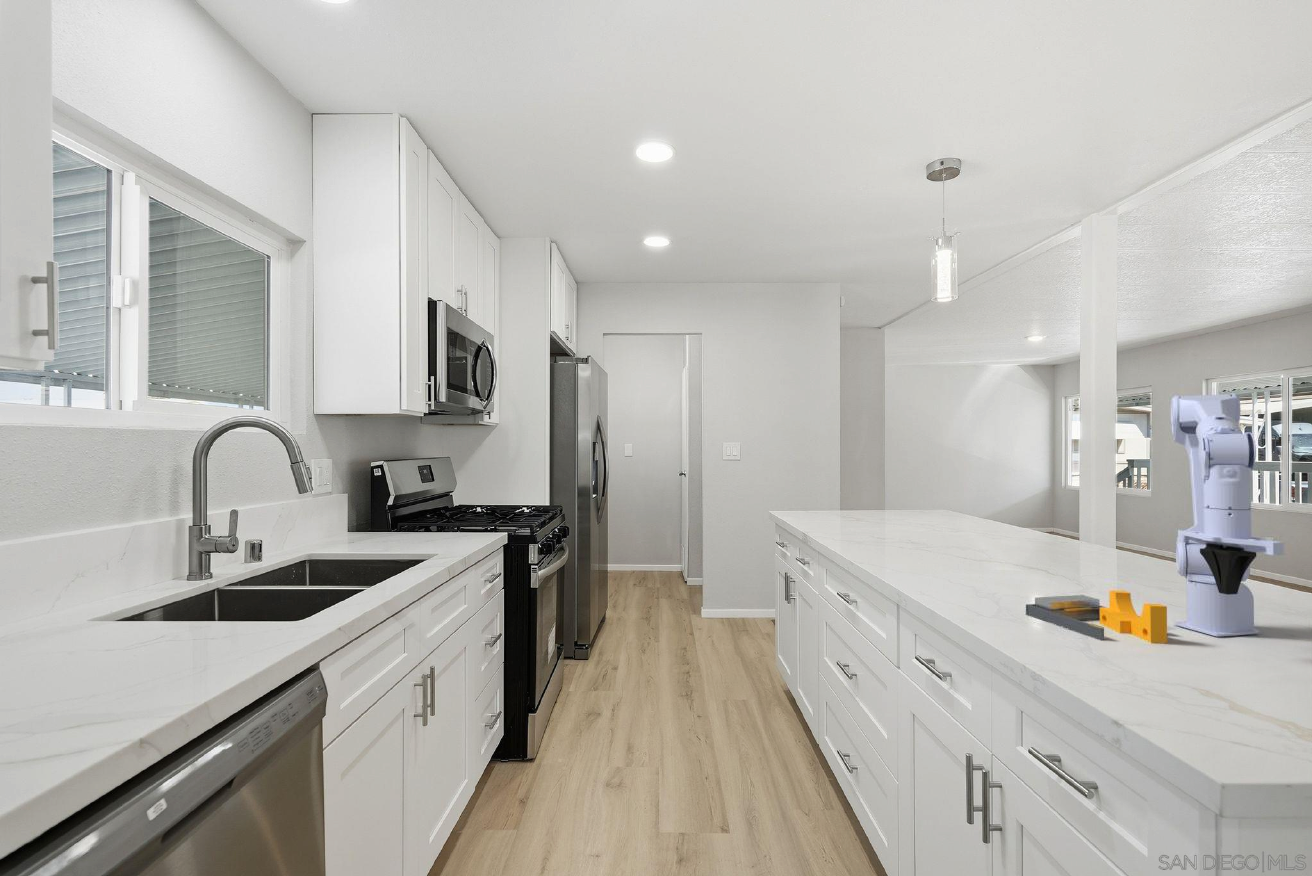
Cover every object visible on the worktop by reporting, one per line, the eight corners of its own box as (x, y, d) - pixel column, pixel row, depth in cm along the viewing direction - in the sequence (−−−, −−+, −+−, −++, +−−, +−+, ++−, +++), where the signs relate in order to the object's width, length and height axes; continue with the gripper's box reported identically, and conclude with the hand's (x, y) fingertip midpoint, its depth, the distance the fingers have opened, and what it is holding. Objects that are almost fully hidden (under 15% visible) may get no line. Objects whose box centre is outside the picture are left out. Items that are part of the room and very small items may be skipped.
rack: (1084, 610, 132) (1084, 593, 132) (1166, 635, 115) (1166, 615, 115) (1025, 614, 129) (1025, 596, 129) (1101, 640, 112) (1101, 619, 112)
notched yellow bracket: (1099, 624, 122) (1099, 590, 123) (1124, 624, 122) (1124, 590, 122) (1139, 643, 111) (1139, 605, 111) (1167, 644, 110) (1166, 606, 110)
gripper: (1162, 504, 110) (1163, 584, 110) (1256, 513, 96) (1258, 605, 96) (1196, 503, 112) (1197, 583, 111) (1294, 512, 97) (1295, 603, 97)
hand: (1228, 593), depth 104 cm, fingers closed
